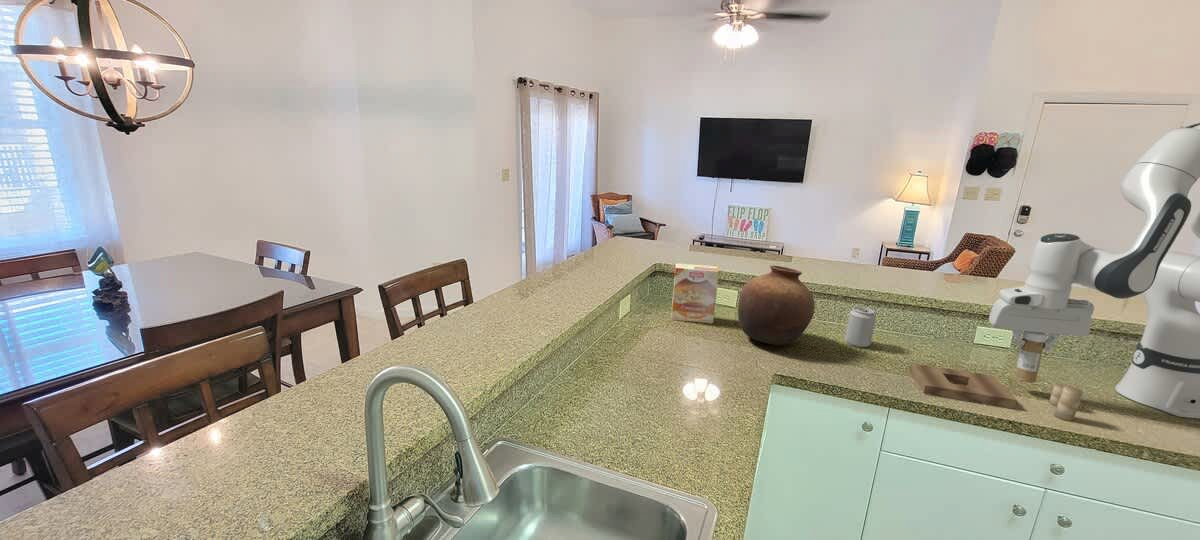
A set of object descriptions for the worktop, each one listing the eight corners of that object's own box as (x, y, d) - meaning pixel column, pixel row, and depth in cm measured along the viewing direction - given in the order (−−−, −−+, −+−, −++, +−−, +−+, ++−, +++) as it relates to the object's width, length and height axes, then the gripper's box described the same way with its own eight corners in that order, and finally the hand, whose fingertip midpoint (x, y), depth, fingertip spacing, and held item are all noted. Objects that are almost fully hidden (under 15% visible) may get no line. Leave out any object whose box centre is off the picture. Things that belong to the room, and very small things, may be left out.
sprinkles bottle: (1038, 381, 129) (1049, 333, 125) (1032, 385, 126) (1043, 336, 123) (1017, 374, 132) (1027, 328, 129) (1010, 378, 130) (1020, 331, 127)
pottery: (729, 347, 151) (739, 270, 145) (739, 323, 172) (747, 255, 165) (808, 362, 143) (821, 281, 136) (808, 334, 164) (819, 263, 157)
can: (871, 343, 159) (877, 308, 156) (869, 350, 153) (876, 315, 150) (845, 337, 163) (852, 303, 160) (843, 344, 157) (849, 309, 153)
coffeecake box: (670, 320, 172) (675, 267, 167) (671, 313, 179) (675, 262, 174) (713, 324, 170) (719, 270, 165) (712, 317, 177) (717, 265, 172)
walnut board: (990, 383, 134) (992, 375, 133) (1014, 409, 121) (1017, 400, 120) (908, 370, 140) (910, 362, 139) (923, 393, 127) (925, 385, 126)
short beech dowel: (1062, 403, 125) (1067, 385, 124) (1069, 409, 122) (1075, 391, 121) (1046, 400, 126) (1051, 383, 125) (1053, 406, 123) (1058, 389, 122)
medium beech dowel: (1068, 415, 119) (1078, 388, 117) (1076, 422, 116) (1086, 394, 114) (1051, 412, 120) (1060, 385, 118) (1058, 419, 117) (1068, 391, 115)
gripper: (1088, 297, 123) (1074, 346, 127) (992, 289, 129) (981, 337, 133) (1104, 304, 117) (1089, 356, 121) (1003, 296, 124) (991, 346, 127)
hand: (1032, 346), depth 127 cm, fingers open, 4 cm apart
